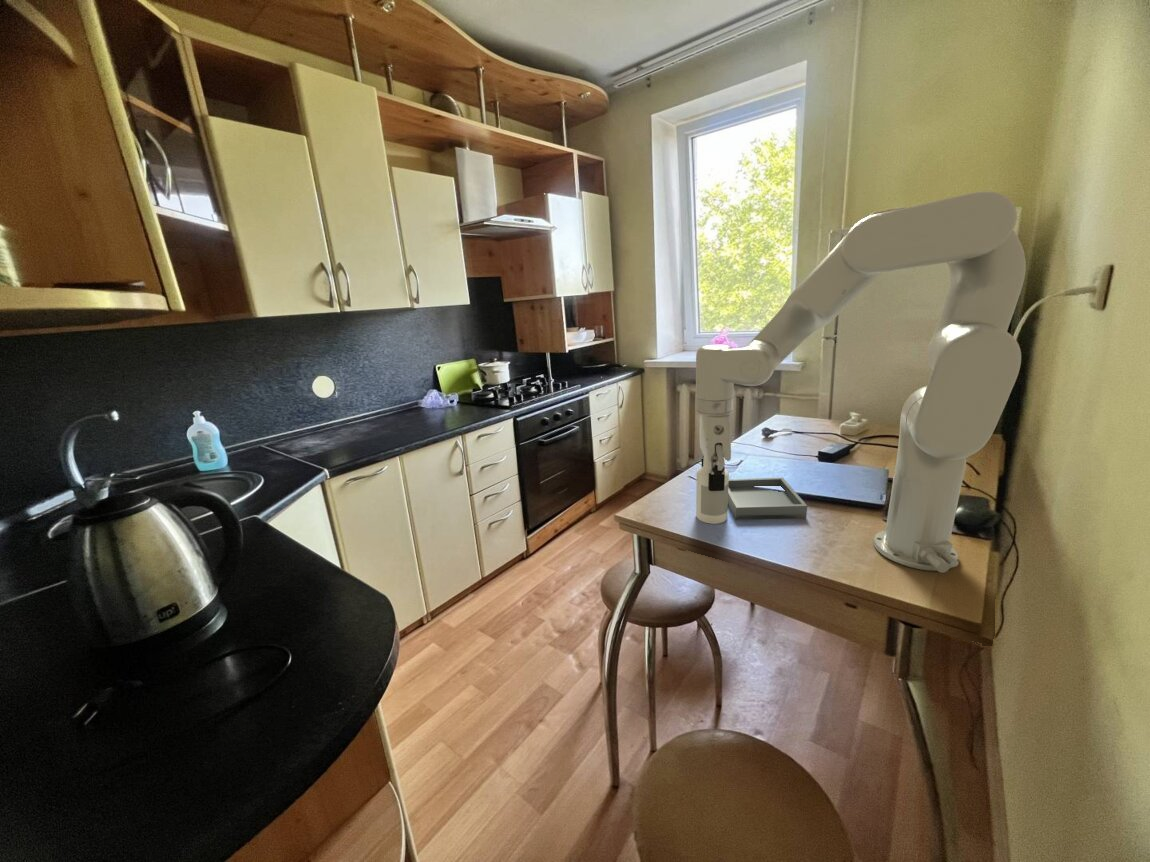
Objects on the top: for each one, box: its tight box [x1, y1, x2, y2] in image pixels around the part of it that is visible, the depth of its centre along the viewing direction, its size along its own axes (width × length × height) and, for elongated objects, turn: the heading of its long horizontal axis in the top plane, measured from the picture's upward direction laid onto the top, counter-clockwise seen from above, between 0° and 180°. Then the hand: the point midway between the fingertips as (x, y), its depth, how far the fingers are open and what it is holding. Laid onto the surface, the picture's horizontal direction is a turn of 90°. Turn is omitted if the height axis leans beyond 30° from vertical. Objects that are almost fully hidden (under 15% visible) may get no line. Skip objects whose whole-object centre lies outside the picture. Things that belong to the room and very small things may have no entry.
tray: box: [728, 477, 808, 521], centre depth 106 cm, size 15×15×3 cm
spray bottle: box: [695, 456, 730, 525], centre depth 99 cm, size 7×7×18 cm
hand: (712, 482), depth 99 cm, fingers open, 7 cm apart
